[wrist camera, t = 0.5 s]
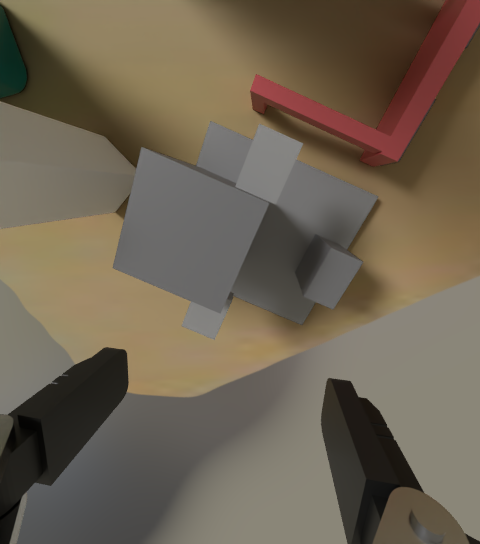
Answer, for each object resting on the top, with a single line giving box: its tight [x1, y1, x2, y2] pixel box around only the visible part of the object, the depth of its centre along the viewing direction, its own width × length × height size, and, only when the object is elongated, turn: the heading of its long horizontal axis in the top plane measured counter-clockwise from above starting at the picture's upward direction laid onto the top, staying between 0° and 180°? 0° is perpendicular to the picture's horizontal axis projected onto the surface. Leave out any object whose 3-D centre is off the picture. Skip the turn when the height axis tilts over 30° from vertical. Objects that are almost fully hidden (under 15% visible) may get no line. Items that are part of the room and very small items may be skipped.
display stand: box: [113, 121, 378, 340], centre depth 22 cm, size 19×17×14 cm
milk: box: [0, 101, 136, 229], centre depth 18 cm, size 6×6×22 cm
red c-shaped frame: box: [250, 0, 480, 167], centre depth 20 cm, size 14×14×5 cm
